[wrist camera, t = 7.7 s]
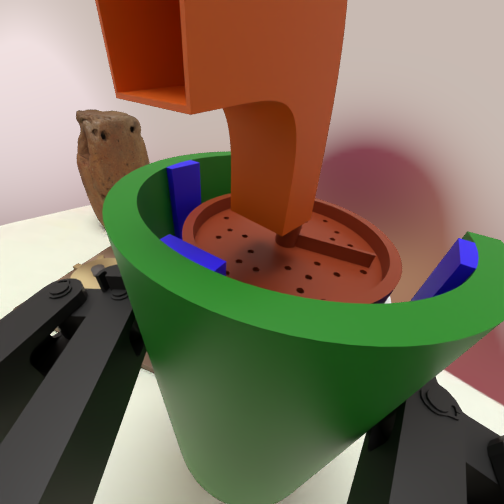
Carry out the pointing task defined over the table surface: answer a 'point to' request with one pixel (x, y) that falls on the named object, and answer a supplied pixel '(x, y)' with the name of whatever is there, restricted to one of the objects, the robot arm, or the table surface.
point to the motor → (269, 251)
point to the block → (107, 152)
